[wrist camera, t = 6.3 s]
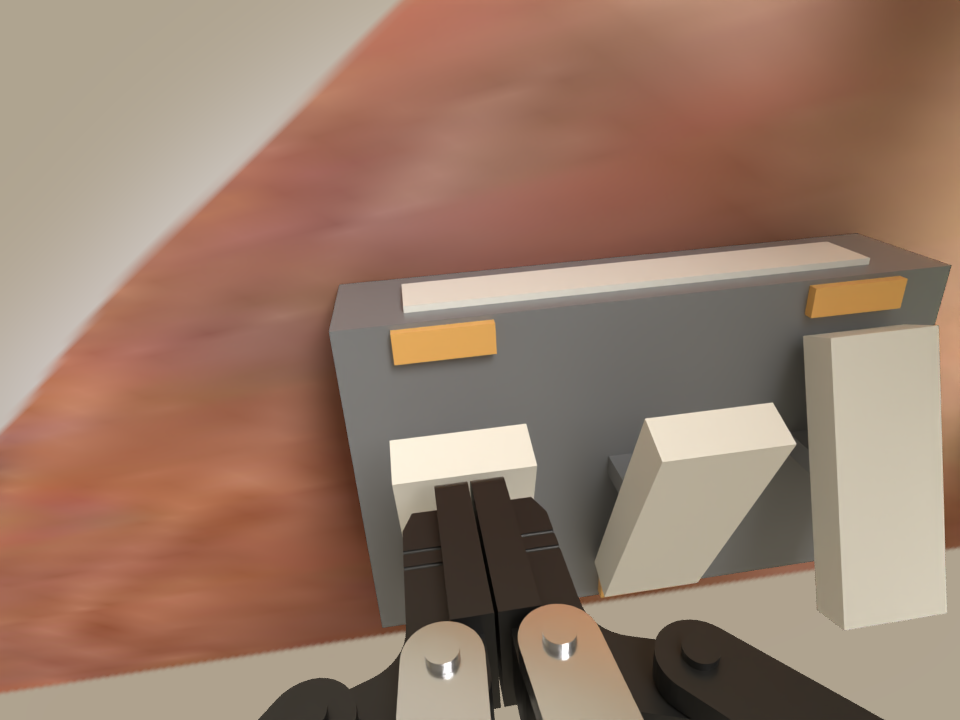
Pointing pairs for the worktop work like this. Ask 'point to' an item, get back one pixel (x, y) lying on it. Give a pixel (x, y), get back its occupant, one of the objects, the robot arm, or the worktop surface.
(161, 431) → the worktop surface
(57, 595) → the worktop surface
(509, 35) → the worktop surface
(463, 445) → the block
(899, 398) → the block
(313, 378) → the worktop surface
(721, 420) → the block
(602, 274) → the switch box
